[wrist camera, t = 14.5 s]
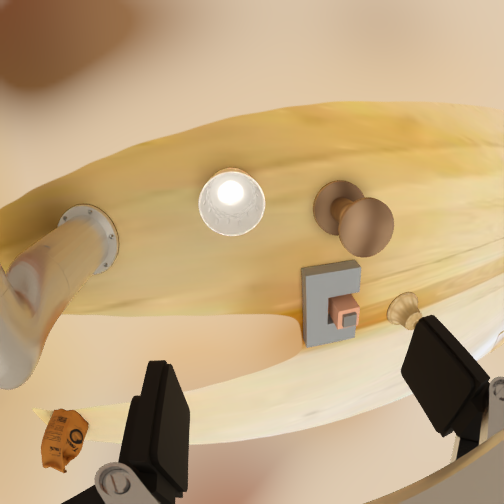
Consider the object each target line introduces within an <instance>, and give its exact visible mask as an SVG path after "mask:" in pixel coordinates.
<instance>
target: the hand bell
mask: <svg viewBox="0 0 504 504" xmlns="http://www.w3.org/2000/svg"><path fill="white" fill-rule="evenodd" d="M387 318H388V321H389V322H390V323H392V324H396V325H399V324H401V325H403V326H404V327H405V328H406V329H408V330H413V329H415V326H416V324H417V323H418V321H419V319H420V318H422V314H421V313H420V311H419V309H418V299H417V296H416V295H415V294H414V293H411V292H406V293H403V294H401V295H399V296H398V297H397V298H396V299H395V300H394V301H393V302H392V303H391V305H390V306H389V309H388V312H387Z"/></svg>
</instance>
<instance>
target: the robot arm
mask: <svg viewBox="0 0 504 504" xmlns="http://www.w3.org/2000/svg"><path fill="white" fill-rule="evenodd" d="M91 210H92V211H91ZM112 235H113V236H112ZM118 248H119V241H118V235H117V231H116V229H115V227H114V225H113V223H112V221H111V220H110V218H109V217H108V216H107V215H106V214H105V213H104V212H103V211H101V210H100V209H98V208H96V207H94V206H91V205H84V204H82V205H77V206H74V207H72V208H70V209H69V210H67V211H66V212H65V213H64V214H63V215H62V217H61V218H60V221H59V223H58V227H57V228H56V229H54V230H53V231H51V232H50V233H48V234H47V235H46V236H44V237H43V238H41V239H40V240H39V241H37V242H36V243H34V244H33V245H32V246H30V247H29V248H28V249H26V250H25V251H24V252H22V253H21V254H20V255H18V256H17V257H16V258H15V259H14V261H13V262H12V263H11V265H10V267H9V269H8V271H7V273H6V274H5V272H4V270H3V268H2V266H1V264H0V388H1V389H5V390H11V389H15V388H18V387H19V386H21V385H22V384H24V383H25V382H26V381H27V380H28V379H29V377H30V376H31V375H32V373H33V372H34V370H35V368H36V366H37V364H38V361H39V359H40V356H41V353H42V350H43V347H44V345H45V342H46V339H47V337H48V334H49V333H50V331H51V329H52V327H53V325H54V324H55V322H56V321H57V319H58V318H59V316H60V315H61V314H62V312H63V311H64V310H65V308H66V307H67V306H68V304H69V303H70V302H71V300H72V299H73V298H74V297H75V295H76V294H77V293H78V291H79V290H80V289H81V288H82V286H83V285H84V284H85V283H86V281H87V280H88V279H89V278H90V276H91V275H92V274H99V273H102V272H104V271H106V270H107V269H108V268H109V267H110V266H111V265H112V264H113V262H114V261H115V259H116V257H117V254H118ZM401 374H402V376H403V378H404V380H405V381H406V383H407V384H408V386H409V387H410V389H411V391H412V392H413V394H414V395H415V397H416V398H417V400H418V402H419V403H420V405H421V407H422V408H423V410H424V412H425V413H426V415H427V417H428V418H429V420H430V422H431V423H432V425H433V427H434V428H435V430H436V431H437V432H438V433H440V434H441V435H442V437H445V436H446V435H448V434H450V433H452V432H453V431H454V432H455V433H456V437H455V443H454V448H453V453H452V457H451V462H450V464H449V465H447V466H445V467H444V468H442V469H440V470H439V471H437V472H435V473H433V474H431V475H429V476H427V477H425V478H423V479H421V480H419V481H417V482H415V483H413V484H411V485H409V486H407V487H404V488H402V489H400V490H398V491H395V492H393V493H391V494H388V495H386V496H383V497H381V498H378V499H376V500H372V501H370V502H367V503H364V504H504V377H497V378H494V379H493V380H492V381H491V383H489V382H488V381H489V379H490V377H489V376H488V375H487V373H486V372H485V371H484V370H483V369H482V367H481V366H480V365H479V364H478V363H477V361H476V360H475V359H474V358H473V357H472V356H471V355H470V354H469V352H468V351H467V350H466V349H465V348H464V347H463V346H462V345H461V343H460V342H459V341H458V340H457V339H456V338H455V337H454V336H453V335H452V334H451V333H450V332H449V331H448V329H447V328H446V327H445V326H444V325H443V324H442V323H441V322H440V321H439V320H438V319H437V318H436V317H435V316H434V315H429V316H426V317H423V318H420V319H419V321H418V323H417V324H416V326H415V329H414V332H413V335H412V339H411V342H410V345H409V348H408V351H407V354H406V357H405V360H404V363H403V365H402V368H401ZM189 425H190V410H189V407H188V404H187V402H186V399H185V397H184V395H183V392H182V390H181V387H180V385H179V382H178V380H177V377H176V375H175V372H174V369H173V366H172V365H171V364H167V362H166V361H165V360H161V361H149V363H148V366H147V371H146V374H145V379H144V383H143V387H142V391H141V396H134V397H133V398H132V401H131V405H130V409H129V413H128V417H127V422H126V427H125V431H124V436H123V441H122V446H121V451H120V456H119V462H113V463H108V464H105V465H104V466H102V467H101V468H99V470H98V471H97V473H96V475H95V485H93V486H92V487H90V488H88V489H87V490H85V491H83V492H81V493H80V494H78V495H76V496H74V497H73V498H71V499H69V500H67V501H65V502H63V503H62V504H175V497H179V498H182V497H183V492H186V491H187V489H188V449H189Z"/></svg>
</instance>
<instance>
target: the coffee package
mask: <svg viewBox="0 0 504 504" xmlns="http://www.w3.org/2000/svg"><path fill="white" fill-rule="evenodd" d="M87 430H88V423H87V422H86V421H85V420H84V419H83V418H82V417H81V416H80V414H78V413H77V412H76V411H74V410H69V411H66V410H64V409H59V410H54V412H53V414H52V417H51V419H50V421H49V423H48V426H47V428H46V430H45V433H44V437H43V440H42V445H41V454H42V463H43V467H44V468H48V467H52V468H54V469H56V470H58V471H61V472H63V473H66V472H67V471H66V470H65V466H66V465H67V464H68V463H69V462H70V460H72V459H74V458H75V457H76V456H77V455H78V454H79V453H80V451H81V449H82V445H83V441H84V438H85V435H86V433H87Z"/></svg>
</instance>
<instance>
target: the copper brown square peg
mask: <svg viewBox="0 0 504 504" xmlns="http://www.w3.org/2000/svg"><path fill="white" fill-rule="evenodd" d="M359 311H360V307H359V305H358V304H357V302H356V301H355V299H354V298H353V297H352V295H351V294H346V295H341V296H335V297H330V298H328V312H329V314H330V316H331V318H332V320H333V322H334V324H335V326H336V328H337V330H338V329H343V328H347V327H351V326H356V325H358V320H359Z"/></svg>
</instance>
